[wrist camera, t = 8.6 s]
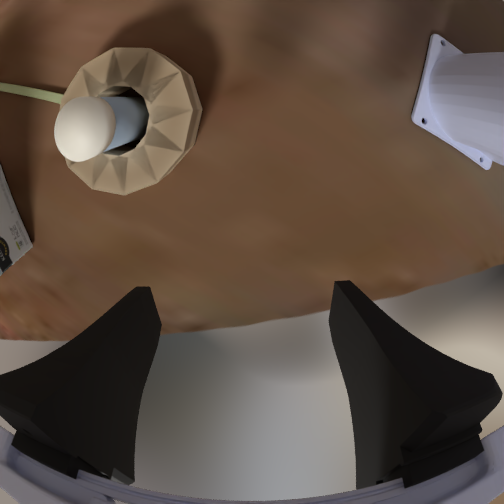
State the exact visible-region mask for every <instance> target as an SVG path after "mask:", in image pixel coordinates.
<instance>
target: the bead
mask: <svg viewBox="0 0 504 504" xmlns="http://www.w3.org/2000/svg"><path fill="white" fill-rule="evenodd" d="M132 88H133V89H134V90H135V91H137V92H138V93H139V94H140V95H142V96H143V97H144V100H145V103H146V106H147V109H148V112H149V120H148V125H147V131H146V135H145V136H144V137H143V138H142V140H141V141H140V142H139V144H138V145H137V146H136V148H135V147H129V146H123V145H121V146H118V147H115V148H113V149H110V150H107V151H105V152H103V153H101V154H99V155H97V156H95V157H93V158H90V159H88V160H85V161H81V162H75V161H71V160H69V159H67V158H66V157H65V156H64V157H65V160H66V162H67V165H68V167H69V168H70V169H71V170H72V171H73V172H74V173H75V174H76V175H77V176H78V177H79V178H81V179H82V180H83V181H84V182H85V183H86V184H87V185H88V186H89V187H90V188H92V189H94V190H100V191H105V192H110V193H115V194H120V195H127V194H129V193H132V192H134V191H137V190H140V189H142V188H145V187H148V186H150V185H153V184H156V183H158V182H159V181H160V180H162V179H163V178H164V177H165V176H166V175H168V174H169V173H170V172H171V171H172V170H173V169H174V168H175V166H176V165H177V164H178V163H179V162H180V161H181V159H182V158H183V157H184V156H185V155H186V154H187V153H188V151H189V150H190V149H191V148H192V147H193V146H194V145H195V140H196V136H197V131H198V127H199V122H200V118H201V114H202V110H203V109H202V106H201V103H200V100H199V97H198V94H197V90H196V87H195V84H194V81H193V78H192V76H191V75H190V74H188V73H187V72H186V71H185V70H183V69H182V68H181V67H180V66H178V65H177V64H176V63H174V62H173V61H172V60H170V59H169V58H168V57H167V56H165V55H163V54H161V53H159V52H157V51H155V50H153V49H151V48H112V49H111V50H109V51H107V52H105V53H103V54H102V55H100V56H98V57H97V58H95V59H93V60H92V61H90V62H88V63H87V64H85V65H84V66H82V67H81V68H80V70H79V71H78V73H77V74H76V76H75V77H74V79H73V80H72V82H71V84H70V85H69V87H68V88H67V90H66V92H65V93H64V95H63V97H62V99H61V105H60V111H61V109H62V108H63V106H64V105H65V104H66V103H68V102H69V101H70V100H72V99H74V98H77V97H89V96H95V97H118V96H119V95H120V94H121V93H123V92H125V91H127V90H130V89H132Z"/></svg>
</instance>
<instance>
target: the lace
mask: <svg viewBox="0 0 504 504" xmlns="http://www.w3.org/2000/svg"><path fill="white" fill-rule="evenodd" d="M0 91H4V92H9V93H15V94H20V95H24V96H29V97H34V98H38V99H43V100H47V101H51V102H55V103H59V104H61V99H62V97H63V95H64V94H60V93H56V92H51V91H47V90H42V89H37V88H31V87H26V86H20V85H14V84H7V83H0Z"/></svg>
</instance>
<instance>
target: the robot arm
mask: <svg viewBox="0 0 504 504" xmlns="http://www.w3.org/2000/svg"><path fill="white" fill-rule="evenodd" d="M441 42H442V43H443V46H442V45H441ZM411 118H412V121H413V122H414V123H415V124H417V125H418V126H420V127H422V128H424V129H425V130H427V131H429V132H430V133H432V134H434V135H435V136H437V137H439V138H440V139H442V140H444V141H445V142H447V143H448V144H450V145H451V146H453V147H454V148H456V149H457V150H459V151H460V152H462V153H463V154H465V155H466V156H467V157H469V158H470V159H472V160H473V161H474V162H476V163H477V164H478V165H480V166H481V167H482V168H484V169H486V170H489V169H490V167H491V164H492V161H494V162H496V163H499V164H501V165H503V166H504V52H486V53H469V54H464V53H462V52H461V51H460V50H459V49H457V48H456V47H455V46H453V45H452V44H451V43H449V42H448V41H447V40H445V39H444V38H442V37H441V36H440V35H438V34H433V35H431V37H430V43H429V48H428V52H427V57H426V62H425V66H424V70H423V74H422V79H421V83H420V86H419V90H418V94H417V98H416V101H415V105H414V108H413V112H412V116H411ZM422 118H424V120H425V122H424V124H423V123H422ZM480 158H481V160H480ZM161 326H162V324H161V321H160V318H159V315H158V311H157V308H156V305H155V302H154V299H153V295H152V292H151V288H150V287H135V288H134V289H133V290H131V291H130V292H129V293H128V294H127V295H125V296H124V297H123V298H122V299H121V300H120V301H119V302H117V303H116V304H115V305H114V306H113V307H112V308H111V309H109V310H108V311H107V312H106V313H105V314H104V315H103V316H101V317H100V318H99V319H98V320H97V321H95V322H94V323H93V324H92V325H90V326H89V327H88V328H87V329H86V330H84V331H83V332H82V333H80V334H79V335H78V336H76V337H75V338H74V339H72V340H71V341H69V342H68V343H66V344H65V345H63V346H62V347H60V348H58V349H57V350H55V351H53V352H51V353H50V354H48V355H47V356H45V357H43V358H41V359H39V360H37V361H35V362H33V363H30V364H28V365H26V366H24V367H21V368H19V369H16V370H13V371H10V372H8V373H5V374H2V375H0V416H1V417H2V418H3V419H5V420H6V421H7V422H8V423H9V424H10V425H11V426H12V427H13V428H14V429H16V430H17V431H16V433H15V435H13V434H12V433H10V432H9V431H7V430H6V429H4V428H3V427H1V426H0V487H1V488H2V489H3V490H4V491H5V492H6V493H8V494H9V495H10V496H11V497H12V498H13V499H15V500H16V501H17V502H18V503H19V504H116V503H115V501H114V500H117V501H121V502H124V503H128V504H488V503H490V502H491V501H492V500H494V499H495V498H496V497H497V496H499V495H500V494H501V493H503V492H504V426H502V427H500V428H499V429H497V430H496V431H494V432H492V433H490V434H489V435H487V436H486V437H484V438H483V439H481V440H480V437H479V435H478V434H480V433H481V432H482V428H481V425H480V422H481V421H482V420H483V419H484V418H485V417H486V416H487V415H488V414H489V413H490V412H491V411H492V410H493V409H494V408H495V407H496V406H497V404H498V403H499V402H500V400H501V398H502V391H501V389H500V387H499V385H498V383H497V382H496V380H495V378H494V376H493V374H491V373H488V372H485V371H482V370H479V369H476V368H473V367H471V366H468V365H466V364H464V363H462V362H459V361H457V360H455V359H453V358H451V357H449V356H447V355H445V354H443V353H441V352H439V351H438V350H436V349H434V348H432V347H431V346H429V345H427V344H426V343H424V342H423V341H421V340H420V339H418V338H417V337H415V336H414V335H412V334H411V333H410V332H408V331H407V330H405V329H404V328H403V327H402V326H400V325H399V324H398V323H396V322H395V321H394V320H393V319H392V318H390V317H389V316H388V315H387V314H386V313H385V312H384V311H382V310H381V309H380V308H379V307H378V306H377V305H376V304H375V303H374V302H373V301H371V300H370V299H369V298H368V297H367V296H366V295H365V294H364V293H363V292H362V291H361V290H360V289H359V288H358V287H357V286H355V285H354V284H353V283H352V282H351V281H350V280H347V281H335V283H334V290H333V297H332V303H331V309H330V315H329V326H330V331H331V337H332V342H333V345H334V349H335V352H336V355H337V359H338V362H339V365H340V369H341V372H342V375H343V378H344V382H345V385H346V389H347V393H348V397H349V402H350V409H351V415H352V423H353V432H354V442H355V455H356V490H353V491H348V492H343V493H338V494H333V495H326V496H319V497H312V498H303V499H292V500H278V501H226V500H211V499H201V498H192V497H184V496H177V495H172V494H165V493H160V492H155V491H150V490H146V489H141V488H137V487H133V486H129V485H130V484H132V483H133V482H134V481H135V478H134V454H135V438H136V429H137V419H138V414H139V408H140V402H141V397H142V393H143V389H144V386H145V383H146V380H147V376H148V374H149V370H150V368H151V365H152V361H153V358H154V355H155V352H156V349H157V346H158V341H159V337H160V331H161ZM113 499H114V500H113Z"/></svg>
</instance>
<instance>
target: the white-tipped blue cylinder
mask: <svg viewBox="0 0 504 504" xmlns="http://www.w3.org/2000/svg"><path fill="white" fill-rule="evenodd" d="M148 120H149V112H148V109H147V106H146V103H145V100H144V98H140V97H95V96H89V97H77V98H74V99H72V100H70V101H69V102H68V103H66V104H65V105H64V106H63V108H62V109H61V111H60V112H59V114H58V116H57V119H56V123H55V129H54V134H55V141H56V144H57V147H58V149H59V151H60V152H61V153H62V154H63V155H64V156H65V157H66V158H67V159H69V160H71V161H75V162H81V161H85V160H88V159H90V158H93V157H95V156H97V155H99V154H101V153H103V152H105V151H107V150H110V149H113V148H115V147H118V146H121V145H123V144H126V143H129V142H132V141H135V140H138V139H141V138H143V137H144V136H145V135H146V131H147V125H148Z"/></svg>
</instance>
